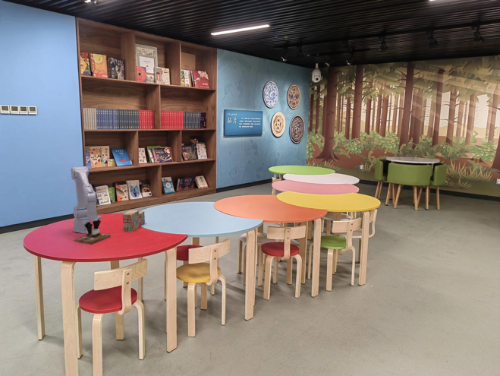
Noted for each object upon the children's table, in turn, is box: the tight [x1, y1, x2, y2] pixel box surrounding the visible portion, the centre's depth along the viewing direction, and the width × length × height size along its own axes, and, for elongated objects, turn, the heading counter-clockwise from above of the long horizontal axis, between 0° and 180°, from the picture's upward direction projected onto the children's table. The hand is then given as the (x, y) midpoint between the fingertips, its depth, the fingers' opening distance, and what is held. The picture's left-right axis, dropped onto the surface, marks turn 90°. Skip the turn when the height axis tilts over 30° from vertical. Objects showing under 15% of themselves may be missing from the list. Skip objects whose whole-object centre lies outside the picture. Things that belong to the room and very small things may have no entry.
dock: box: [74, 232, 111, 245], centre depth 241 cm, size 14×16×2 cm
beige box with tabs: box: [85, 227, 101, 237], centre depth 241 cm, size 8×4×4 cm, turn 67°
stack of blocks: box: [122, 209, 146, 233], centre depth 268 cm, size 21×6×12 cm, turn 172°
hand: (92, 232), depth 241 cm, fingers closed on beige box with tabs, 4 cm apart
